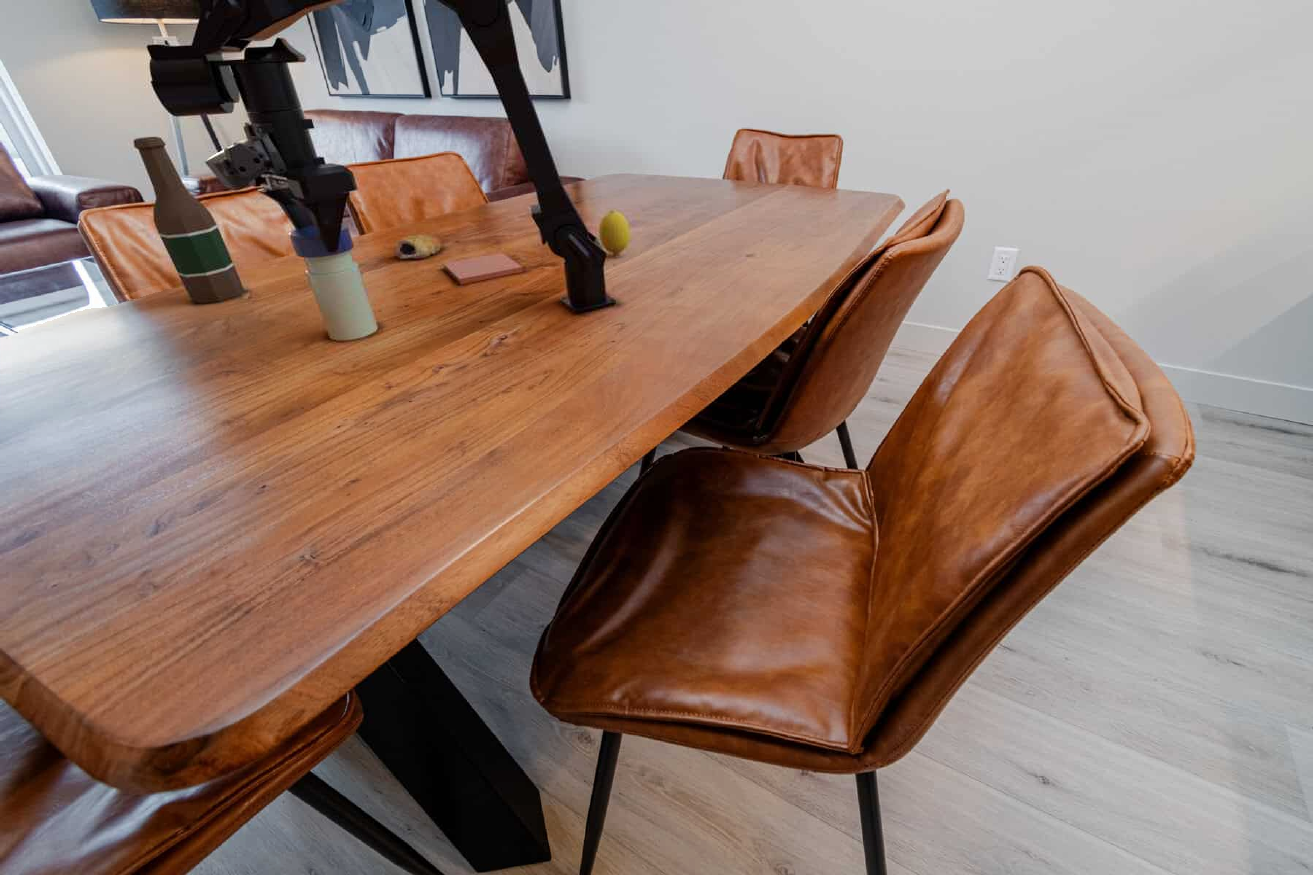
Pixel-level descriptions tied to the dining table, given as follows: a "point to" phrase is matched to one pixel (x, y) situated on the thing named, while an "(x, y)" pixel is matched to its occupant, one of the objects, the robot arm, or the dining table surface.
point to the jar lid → (318, 242)
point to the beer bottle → (188, 230)
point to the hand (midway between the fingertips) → (321, 247)
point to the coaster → (482, 268)
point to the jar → (341, 296)
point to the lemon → (614, 232)
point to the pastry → (417, 246)
